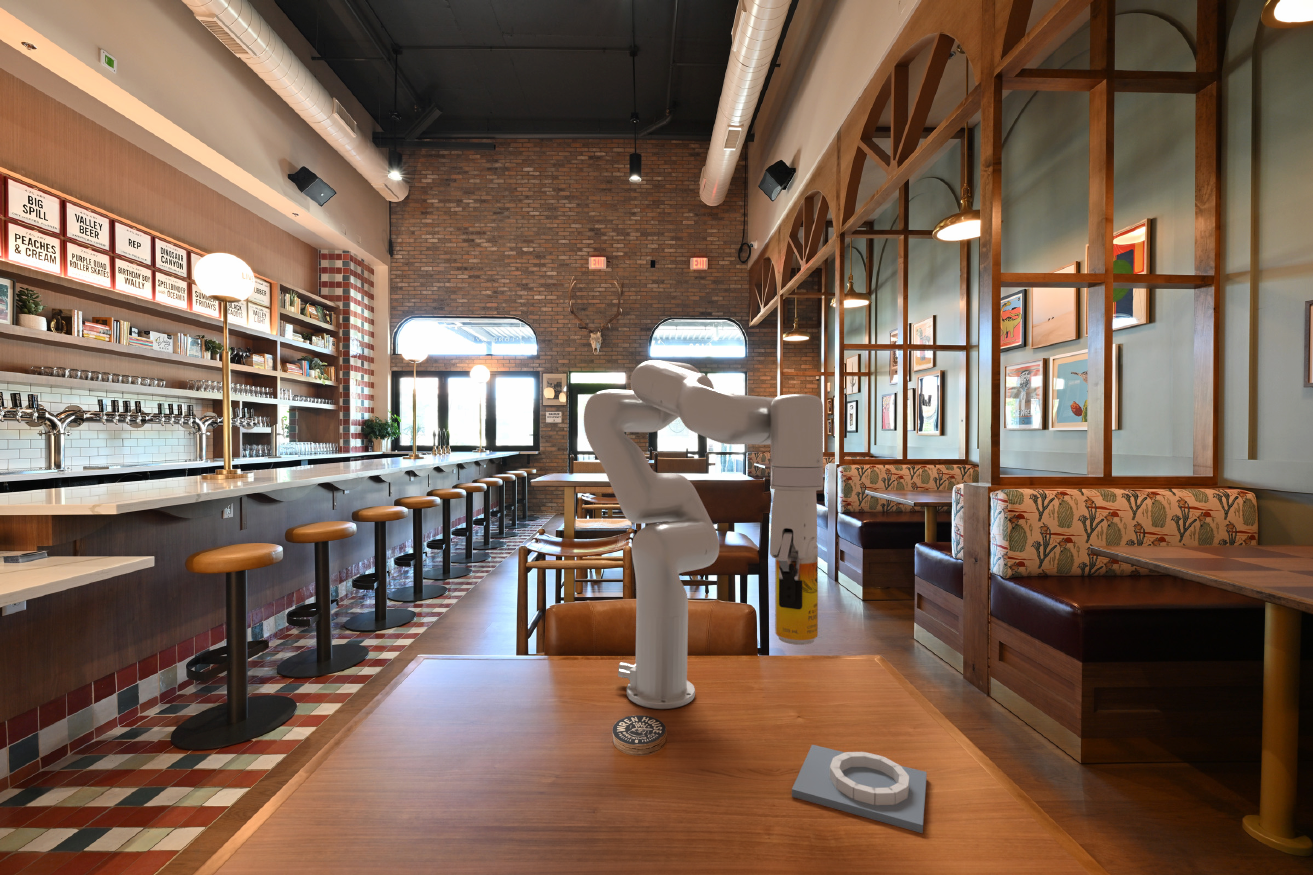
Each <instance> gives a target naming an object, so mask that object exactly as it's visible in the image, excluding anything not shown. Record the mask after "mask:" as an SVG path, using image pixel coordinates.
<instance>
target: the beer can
mask: <svg viewBox="0 0 1313 875" xmlns="http://www.w3.org/2000/svg"><path fill="white" fill-rule="evenodd" d="M818 548H819V545H818V542H817V543H816V541H815V537H814V538H813V539H811V541H810V544H809V547H808V553H807V557H806V558H805V559H803V560H801V561H802V562H801V573H800V580H802V608H801V609H792V608H784V607H780V606H779V570H780V569H779V566H780V564H779V554H778V555H777V556H778V557H777V558H774V567H775V568H774V569H775V571H774V572H775V573H774V574H775V575H774V576H775V577H774V584H775V585H774V596H775V597H774V633H775V635H776V636H777V637H778V640H780V642H782V643H786V644H788V645H789V644H790V645H796V646H802V645H803V646H804V645H805V646H806V645H809V644H813V643H814V642H815V639H817V638H818V632H819V631H818V630H819V628H818V626H819V623H818V620H819V616H818V615H819V614H818V613H819V612H818V611H819V610H818V609H819V605H818V604H819V603H818V601H819V596H818V595H819V593H818V592H819V590H818V589H819V588H818V587H819V586H818V585H819V584H818V583H819V581H818V580H819V579H818V578H819V574H818V573H819V571H818V570H819V567H818V566H819V565H818V564H819V559H818V558H819V549H818ZM780 549H781V547H780ZM780 549H779V552H780ZM797 555H798V554H796V553H791V555H790V557H795V558H797ZM791 564H793V565H794V567H795V566H796V563H791Z"/></svg>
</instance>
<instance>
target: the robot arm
mask: <svg viewBox="0 0 1313 875" xmlns="http://www.w3.org/2000/svg"><path fill="white" fill-rule="evenodd" d="M630 387H631V390H629V389H616V388H615V389H604V390H600V391H597V392H595V393H594V394H592V395H591V396H590V397H589V398H588V400H587V401H586V404H585V407H584V410H583V411H584V412H583V427H584V433H585V436H586V439H587V442H588V444H589V446H590V448H591V449H592V452H593V453H594V455H595V456H596V457H597V459H598V460H599V462H600V465H601V466H602V468H603V469H604V472H605V474H606V477H607V479H608V482H609V484H610V486H611V488H612V491H613V493H614V496H615V498H616V501H617V503H618V505H619V507H620V510H621V512H622V513H623V515H624V517H625V518H626V519H627V520H628V521H629V522H630V523H632V524H638V525H639V524H640V525H641V524H648V525H646V526H644V527H642V528H641V529H639V531H637V532H636V533H635V535H634V537H633V540H632V543H631V557H632V563H633V568H634V574H635V589H636V590H635V594H636V595H635V596H636V598H635V599H636V602H635V603H636V605H635V606H636V607H635V608H636V609H635V610H636V616H635V617H636V619H635V620H636V621H635V624H636V625H635V627H636V628H635V663H634V664H631V663H629V662H625V661H621V662H620V663H618V668H617V669H618V671H617V676H618V677H619V678H622V679H628V681H629V683H628V685H627V687H626V696H627V698H628V699H629V700H630V701H631V702H633V703H634V704H636V705H638V706H641V707H643V708H648V709H649V708H650V709H655V710H656V709H657V710H664V709H665V710H666V709H667V710H668V709H676V708H680V707H683V706H685V705H688V704H689V703H690V702H692V701H693V700H695V696H696V688H695V685H694V684H693V683H691V682H690V681H689V680H688V640H689V639H688V638H689V637H688V636H689V635H688V633H689V632H688V628H689V626H688V625H689V600H688V599H689V598H688V594H687V591H686V588H685V586H684V584H683V582H682V581H681V579H680V574H682V573H683V574H684V573H685V572H691V571H696V570H700V569H704V568H707V567H710V566H711V565H712V564H714V563H715V561H716V560H717V558H718V557H719V555H720V540H719V536H718V532H717V530H716V528H715V525H714V524H713V521H712V520H711V517H710V516H709V514H708V511H707V509H706V508H705V507H706V506H704V503H703V501H702V499H701V498H700V496H699V493H698V492H697V490H696V488H695V486H694V485H693V483H692V482H691V481H690V480H689V479H688V478H686V477H685V476H683V475H681V474H679V473H672V472H669V473H667V472H666V473H663V472H662V473H658V472H656V471H655V470H653V469H652V467H651V465H650V464H649V462H648V459H647V457H646V455H645V453H644V452H643V450H642V449H641V448H640V447H639V445H638V444H637V443H636V442H635V441H634V440H632V439H631V438H630V437H629V436H627V434H626V433H654V432H659V431H661V430H662V429H665V428H666V427H667V426H669V425H670V424H672V423H673V422H674V421H675V420H677V419H678V418H680V420H681V422H682V423H683V425H684V426H685V427H686V429H688V430H690V431H691V432H693V433H695V434H698V435H700V436H702V437H704V438H706V439H709V440H711V441H714V442H718V443H720V444H725V445H754V446H755V445H765V446H767V445H770V489H771V490H773V497H772V506H771V518H770V520H771V521H770V536H769V537H770V539H769V540H770V541H769V542H770V544H769V555H770V556H771V557H772V558H773V559H775V558H777V557H778V556H777V555H778V554H779V564H780V566H779V569H780V570H779V606H780V607H784V608H792V609H801V608H802V580H800V573H801V562H802V561H801V560H803V559H805V558H806V557H807V553H808V547H809V544H810V541H811V539H813V538H814V537H815V541H816V543H817V544H818V504H817V503H818V500H817V491H823V490H824V406H823V405H824V404H823V401H822V400H821V398H820V397H818V396H817V395H813V394H802V393H801V394H783V395H779V396H776V397H768V396H766V397H765V396H758V395H757V396H756V395H745V394H732V393H727V392H723V391H720V390H717V389H715V388H714V384H713V382H712V381H711V379H710V378H709V376H707V375H705V374H703V373H701V372H700V371H699V369H697V368H696V367H695V366H693V365H691V364H688V363H684V362H675V361H667V360H659V359H652V360H651V359H650V360H647V361H646V360H645V361H644V362H642V363H640V364H639V365H637V366H636V367H635V368H634V370H633V371H632V373H631V375H630ZM780 547H781V549H780ZM779 549H780V552H779ZM791 553H796V554H798V555H797V558H795V557H790V555H791ZM791 563H796V566H795V567H794V565H793V564H791Z"/></svg>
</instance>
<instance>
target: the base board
mask: <svg viewBox="0 0 1313 875" xmlns="http://www.w3.org/2000/svg"><path fill="white" fill-rule="evenodd" d="M927 772H928V771H924V770H919V769H917V768H911V767H907V766H903V765H900V764H899V763H896V762H895V761H893V760H891V759H889V758H887V757H885V756H883V755H878V754H876V753H875V754H874V753H870V752H867V751H847V752H844V751H841V750H836V749H832V748H828V747H824V746H823V747H822V746H820V745H816V744H811V745H810V749H809V750H808V752H807V754H806V757H805V759H804V762H803V763H802V766H801V767H800V770H799V773H798V775H797V777H796V779H795V781H794V784H793V785H792V788H791V797H792V798H795V799H799V800H802V801H807V802H810V803H813V804H817V805H820V806H824V807H827V808H832V809H835V810H839V811H842V812H846V813H849V814H853V815H856V816H859V817H863V818H867V819H871V820H873V821H877V822H881V823H884V824H888V825H892V826H895V827H899V828H903V829H907V830H910V831H914V832H917V833H920V834H923V831H924V818H925V816H924V815H925V806H926V805H925V804H926V803H925V802H926V791H927V777H928V776H927V775H928V774H927Z"/></svg>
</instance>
